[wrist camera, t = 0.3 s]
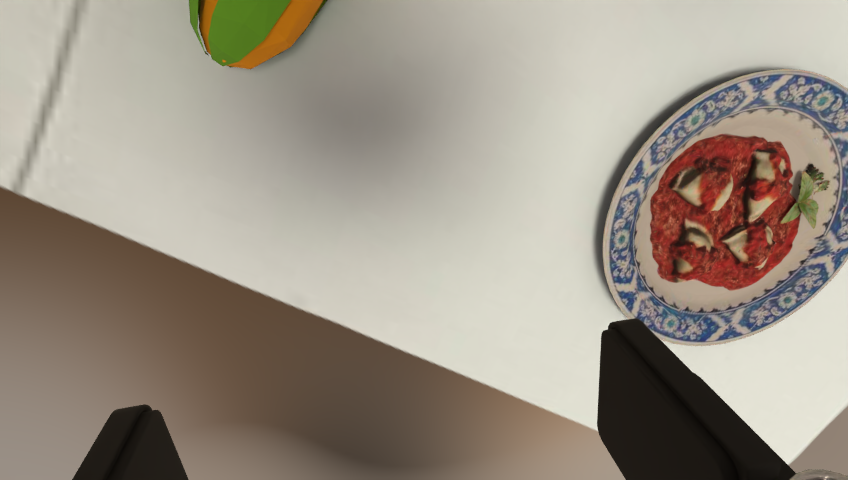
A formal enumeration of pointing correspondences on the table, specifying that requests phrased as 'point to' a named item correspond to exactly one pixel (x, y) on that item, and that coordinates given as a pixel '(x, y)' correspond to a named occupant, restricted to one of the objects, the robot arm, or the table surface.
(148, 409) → the robot arm
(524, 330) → the table surface
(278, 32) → the corn
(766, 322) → the ceramic plate
